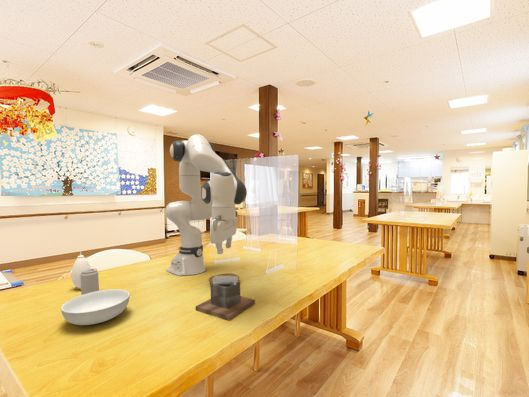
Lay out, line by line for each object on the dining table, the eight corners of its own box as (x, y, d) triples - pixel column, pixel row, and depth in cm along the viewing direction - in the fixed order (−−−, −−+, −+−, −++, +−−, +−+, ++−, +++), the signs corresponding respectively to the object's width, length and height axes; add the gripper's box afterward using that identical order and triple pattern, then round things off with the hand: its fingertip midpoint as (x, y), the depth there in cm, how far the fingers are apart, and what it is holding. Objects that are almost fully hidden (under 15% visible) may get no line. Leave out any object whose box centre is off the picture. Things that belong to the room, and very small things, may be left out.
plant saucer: (202, 287, 128) (202, 281, 128) (218, 277, 142) (218, 272, 142) (231, 290, 123) (231, 284, 123) (244, 280, 137) (244, 274, 137)
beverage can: (102, 296, 119) (101, 268, 118) (89, 302, 113) (87, 273, 112) (91, 294, 121) (90, 267, 121) (77, 300, 115) (76, 271, 115)
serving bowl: (115, 301, 113) (115, 284, 113) (140, 315, 100) (140, 296, 100) (53, 321, 97) (52, 301, 97) (73, 341, 84) (72, 319, 84)
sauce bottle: (70, 288, 129) (68, 250, 128) (89, 284, 134) (87, 247, 134) (74, 292, 123) (72, 252, 123) (94, 287, 129) (92, 249, 128)
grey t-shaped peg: (213, 302, 105) (212, 278, 104) (215, 299, 108) (215, 275, 107) (236, 303, 104) (235, 278, 103) (238, 300, 107) (237, 276, 106)
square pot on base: (195, 310, 103) (194, 286, 103) (223, 295, 117) (223, 274, 116) (228, 320, 95) (228, 294, 94) (254, 303, 108) (254, 280, 108)
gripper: (222, 217, 93) (223, 258, 94) (239, 211, 113) (239, 245, 114) (204, 217, 95) (205, 257, 95) (224, 211, 115) (225, 244, 115)
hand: (224, 250), depth 105 cm, fingers open, 8 cm apart
